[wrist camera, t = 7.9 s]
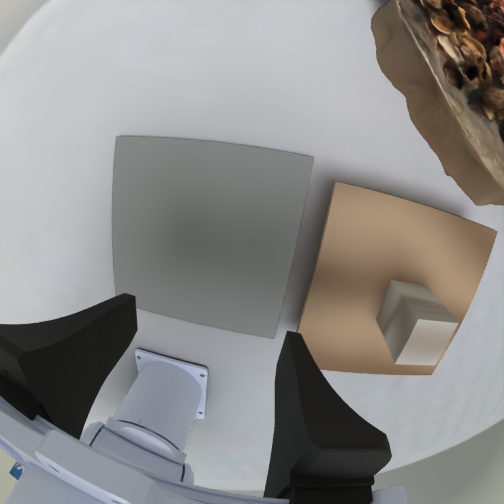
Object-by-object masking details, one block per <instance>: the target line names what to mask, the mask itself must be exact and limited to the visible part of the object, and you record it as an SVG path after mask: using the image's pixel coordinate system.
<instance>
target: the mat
mask: <svg viewBox="0 0 504 504" xmlns="http://www.w3.org/2000/svg"><path fill="white" fill-rule="evenodd" d="M313 158H314V157H309V156H304V155H299V154H294V153H289V152H283V151H277V150H271V149H265V148H259V147H252V146H245V145H237V144H229V143H221V142H212V141H202V140H191V139H178V138H162V137H137V136H116V143H115V154H114V167H113V187H112V248H113V268H114V281H115V293H116V296H118V295H120V294H123V293H127V294H131V295H134V296H136V308H138V309H142V310H145V311H149V312H153V313H156V314H160V315H164V316H168V317H172V318H176V319H180V320H184V321H188V322H192V323H197V324H201V325H205V326H210V327H215V328H219V329H224V330H229V331H234V332H239V333H244V334H249V335H255V336H260V337H266V338H272V339H274V338H275V334H276V330H277V326H278V322H279V318H280V314H281V309H282V305H283V301H284V297H285V293H286V289H287V284H288V280H289V276H290V271H291V267H292V262H293V258H294V253H295V249H296V244H297V239H298V235H299V230H300V225H301V220H302V215H303V210H304V205H305V200H306V195H307V190H308V185H309V179H310V174H311V169H312V163H313Z"/></svg>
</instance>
